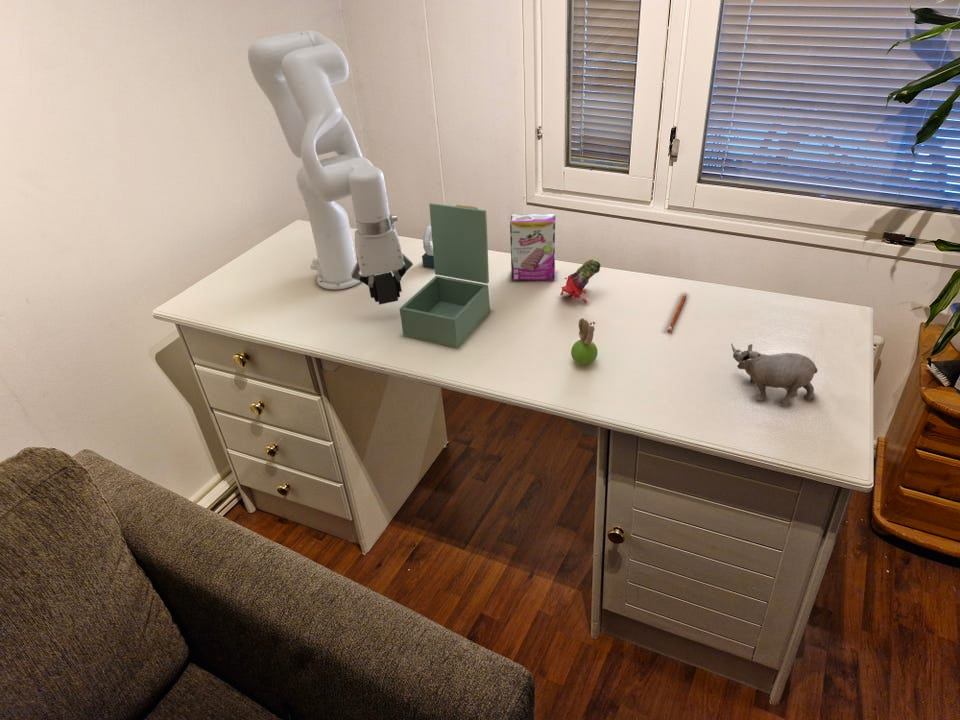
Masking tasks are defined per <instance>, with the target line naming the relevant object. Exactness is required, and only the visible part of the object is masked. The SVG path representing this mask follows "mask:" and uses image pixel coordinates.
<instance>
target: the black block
mask: <svg viewBox="0 0 960 720" xmlns="http://www.w3.org/2000/svg"><path fill="white" fill-rule="evenodd" d="M393 276H394V274H393V272H392V271H391V272H386V273H381V274H377V275H374V284H375V286H376V290H377V296H378V302H377V303H378V304H379V305H385V304H390V303H393V302H398V301H399V297H398V296H397V290H396V284H395V279H394V277H393Z"/></svg>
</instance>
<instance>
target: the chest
mask: <svg viewBox="0 0 960 720" xmlns="http://www.w3.org/2000/svg"><path fill="white" fill-rule="evenodd" d="M490 305H491V303H490V287H489V285H488V284H486V283H480V282H475V281H469V280H464V279H458V278H452V277H447V276H441V275H434V277H433V278H432V279H430V280H429V281H428V282H427V283H426V284H425V285H424V286H422V287H421V288H420V289H419V290H418V291H417V292H416V293H415V294H414V295H413V296H412V297H410V298H409V300H407V301H406V302H404V304H403V305H402V306H400V308H399V314H400V320H401V327H402V334H403V337H407V338H411V339H416V340H420V341H425V342H428V343H433V344H437V345H442V346H447V347H451V348H455V349H458V348H459V347H460V346H461V345H462V344H463V343H464V342H465V340H466V339H467V338H469V336H470V335H471V334H472V333H473V332H474V330H475V329H476V328H478V326H479V325H480V324H481V323H482V322H483V321H484V319H485V318H487V316H488V315H489V314H490V313H491V306H490Z"/></svg>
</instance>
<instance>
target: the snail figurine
mask: <svg viewBox="0 0 960 720" xmlns="http://www.w3.org/2000/svg"><path fill="white" fill-rule="evenodd" d="M595 325H596V321H593V322H592V321H590V322H589V321H588V319H586V318H584V317H582V318H580V319H579V320H578V329H579V331H578V335H579V339H578V340H577V341H575V342H574V343H573V344H572V347H571V350H570V356H571V358H572V360H573V361H574V362H575V363H576V364H578V365H580V366H588V365H591V364H592V363H594V362H595V361H596V359H597V356H598V352H599V351H598V347H597V345H596V343H594V342H593V339H594V335H595V334H594V332H595V329H596V328H595Z"/></svg>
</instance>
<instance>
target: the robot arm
mask: <svg viewBox="0 0 960 720" xmlns="http://www.w3.org/2000/svg"><path fill="white" fill-rule="evenodd" d="M247 60H248V65H249V68H250V70H251V73H252V76H253V78H254V80H255V81H256V84H257V85H258V86H259V88H260V90H261V91H262V92H263V94H264V95H265V96H266V98H267V100H268V101H269V103H270V104H271V106H272V108H273V111H274V113H275V116H276V118H277V120H278V123H279V126H280V128H281V130H282V133H283V135H284V137H285V140H286V142H287V143H286V144H287V145H288V147H289V149H290V151H291V153H292V155H294V156H295V157H296V158H298V159H301V161H302V165H303V166H302V167H300V168H299V170H298V171H297V173H296V184H297V187H298V190H299V192H300V194H301V197H302V200H303V202H304V205H305V208H306V212H307V214H308V215H307V216H308V220H309V224H310V228H311V232H312V235H313V236H312V237H313V241H314V246H315V250H316V255H317V258H313V259H312V262H311V263H312V264H311V265H310V269H311V270H313V271H317V273H318V274H317V275H316V276H317V277H316V282H317V285H318V286H319V287H321V288H322V289H326V290H333V291H334V290H335V291H336V290H345V289H349V288H352V287H354V286H356V285H358V284H360V283H362V284H364V285H365V286H368V290H369V295H370V298H371V299H374V302H375V303H379V302H378V296H377V290H376V286H375V284H374V275H378V274H383V273H388V272H391V273H392V275H393V277H394V279H395V284H396V290H397V296H398V298H400V297H401V294H400V293H402V292H403V291H402V290H403V289H402V283H401V281H402V279H403V277H404V276H405V274H406V273H407V271H408V270H409V269H410V268H412V267H413V262H412V260H411V259H409V257H408V256H406V255H405V254H404V253H403V251H402V247H401V243H400V239H399V235H398V232H397V230H396V227H395V225H394V223H396V222H398V216H397V215H396V214H395V215H394V214H391V213H390V212H391V211H390V208H389V207H390V206H389V200H388V193H387V187H386V181H385V175H384V172H383V170H382V169H381V168H379V167H377V166H374V164H373V162H371V161H370V160H369V159H368V158H366V157H364V156H363V153H362V151H361V148H360V146H359V142H358V140H357V137H356V135H355V133H354V129H353V127H352V125H351V122H350V120H349V118H348V117H347V116H346V115H345V114H344V113H343V110H342V107H341V106H340V103H339V101H338V99H337V97H336V95H335V92H334V90H333V88H332V86H333V85H337V84H343V83H344V82H346V81H347V80H348V78H349V75H350V68H349V63H348V60H347V57H346V55H345V53H344V52H343V51H342V49H341V47H340V46H338V45H337V43H335V41H333V40H332V39H330V38H328V37H327V36H325V35H324V34H322V33H320V32H319V31H317V30H313V29H312V30H311V29H310V30H309V29H308V30H300V31H295V32H290V33H282V34H276V35H271V36H266V37H263V38H259V39H257V40H255V41H254V42H253V43H251V44H250V46H249V47H248V50H247ZM332 152H335V153H336V154H337V155H334V156H331V157H325V158H323V159H319V157H318V156H321V155H325V154H329V153H332ZM349 197H351V201H352V207H353V213H354V218H355V223H356V228H357V229H356V230H355V231H354V241H353V235H352V231H351V224H350V220H349V216H348V213H347V211H346V210H345V208H344V207H343V206H341V204H339V203H338V202H336V201H339V200H343V199H347V198H349Z"/></svg>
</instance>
